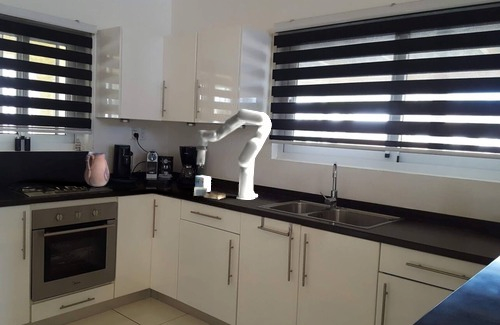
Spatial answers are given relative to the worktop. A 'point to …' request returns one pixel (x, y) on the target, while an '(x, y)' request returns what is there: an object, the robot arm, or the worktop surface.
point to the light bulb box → (203, 182)
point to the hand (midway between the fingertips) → (200, 172)
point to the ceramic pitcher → (96, 169)
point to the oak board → (215, 195)
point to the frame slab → (200, 191)
